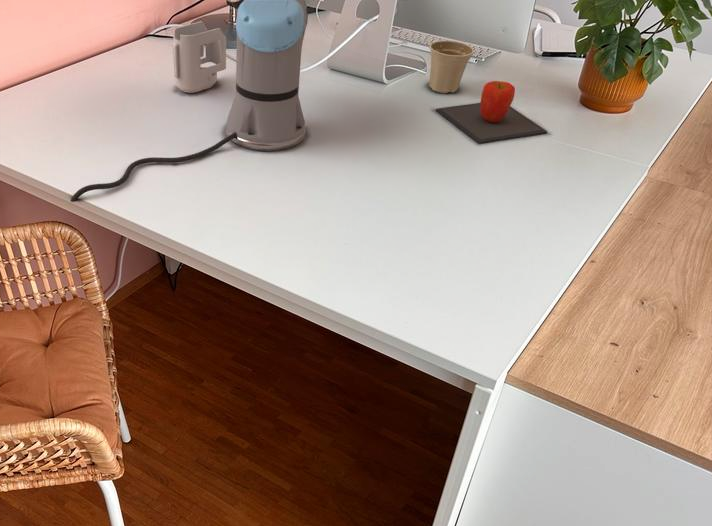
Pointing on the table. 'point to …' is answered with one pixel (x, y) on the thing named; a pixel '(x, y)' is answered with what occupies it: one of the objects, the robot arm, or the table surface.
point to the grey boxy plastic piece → (197, 56)
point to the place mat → (490, 124)
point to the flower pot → (448, 64)
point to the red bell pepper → (496, 100)
